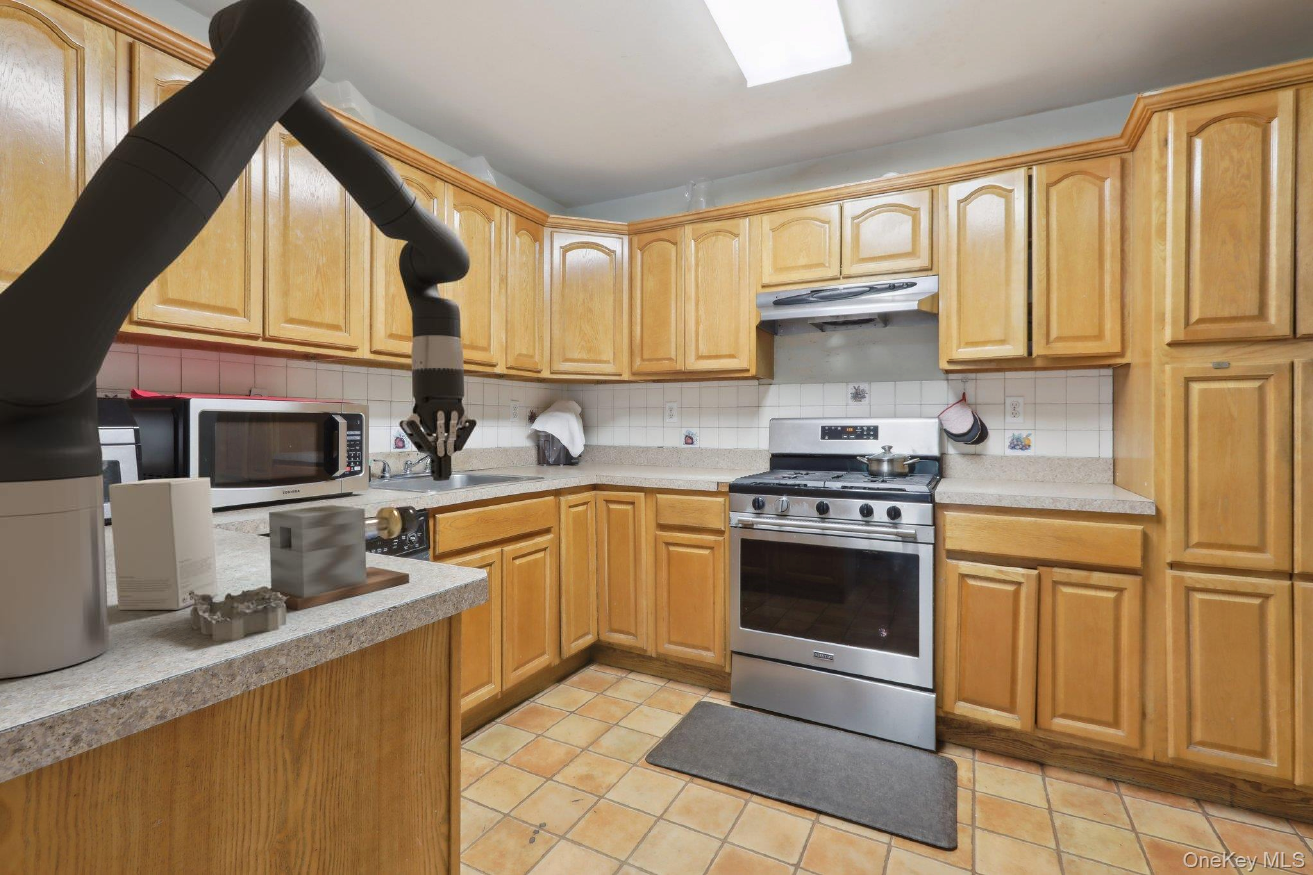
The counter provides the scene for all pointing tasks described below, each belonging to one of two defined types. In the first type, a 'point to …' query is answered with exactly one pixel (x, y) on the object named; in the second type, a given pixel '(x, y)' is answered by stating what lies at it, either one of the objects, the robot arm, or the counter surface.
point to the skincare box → (163, 542)
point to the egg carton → (238, 613)
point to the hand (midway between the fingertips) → (441, 480)
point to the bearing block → (323, 556)
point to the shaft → (393, 521)
